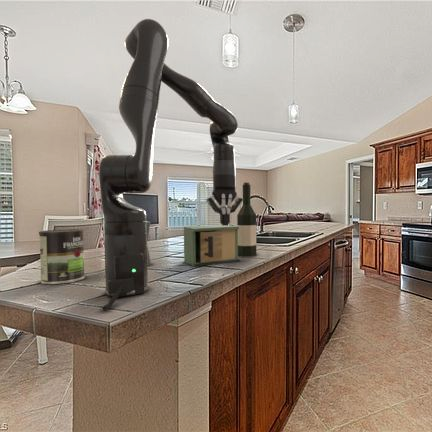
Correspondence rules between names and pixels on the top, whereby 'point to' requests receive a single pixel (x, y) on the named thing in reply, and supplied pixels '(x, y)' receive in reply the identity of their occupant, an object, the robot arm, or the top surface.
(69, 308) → the top surface
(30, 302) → the top surface
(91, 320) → the top surface
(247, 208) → the wine bottle
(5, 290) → the top surface
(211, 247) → the sliding door
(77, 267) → the coffee can
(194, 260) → the cupboard
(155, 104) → the robot arm
